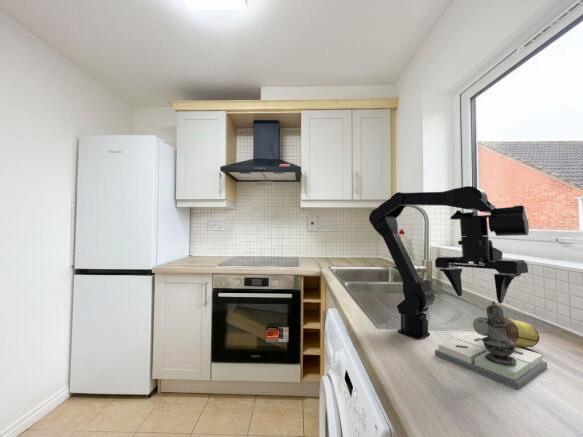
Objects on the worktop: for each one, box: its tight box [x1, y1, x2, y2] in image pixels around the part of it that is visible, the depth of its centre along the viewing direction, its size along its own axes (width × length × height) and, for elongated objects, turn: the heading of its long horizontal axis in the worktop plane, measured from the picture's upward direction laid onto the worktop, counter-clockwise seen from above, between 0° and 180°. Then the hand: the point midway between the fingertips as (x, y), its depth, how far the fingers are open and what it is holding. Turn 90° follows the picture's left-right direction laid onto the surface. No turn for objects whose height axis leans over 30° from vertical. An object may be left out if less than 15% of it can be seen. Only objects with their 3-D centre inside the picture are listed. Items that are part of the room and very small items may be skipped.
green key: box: [475, 351, 529, 380], centre depth 56 cm, size 7×7×3 cm
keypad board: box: [434, 332, 548, 390], centre depth 62 cm, size 16×16×3 cm
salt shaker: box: [482, 300, 517, 365], centre depth 57 cm, size 6×6×12 cm
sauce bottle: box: [472, 316, 540, 348], centre depth 66 cm, size 7×6×20 cm
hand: (479, 299), depth 66 cm, fingers open, 9 cm apart
